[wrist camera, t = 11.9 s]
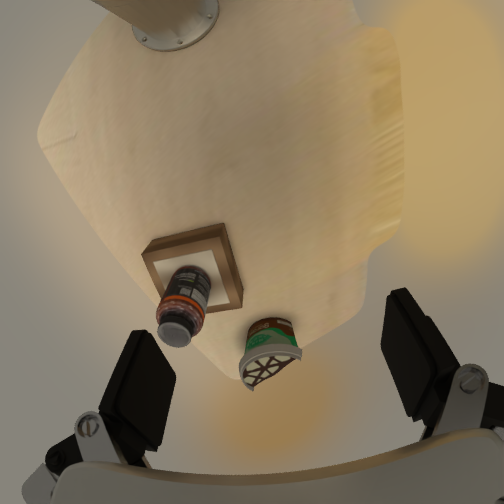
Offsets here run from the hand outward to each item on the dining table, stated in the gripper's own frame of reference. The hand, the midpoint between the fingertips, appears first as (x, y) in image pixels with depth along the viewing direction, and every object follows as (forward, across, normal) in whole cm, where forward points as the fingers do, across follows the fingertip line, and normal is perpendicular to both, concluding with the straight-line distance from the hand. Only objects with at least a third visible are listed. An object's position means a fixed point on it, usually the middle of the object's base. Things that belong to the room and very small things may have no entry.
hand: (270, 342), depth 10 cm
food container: (+30, +5, +27) cm, 41 cm away
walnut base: (+31, +12, +12) cm, 35 cm away
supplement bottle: (+25, +12, +12) cm, 31 cm away
